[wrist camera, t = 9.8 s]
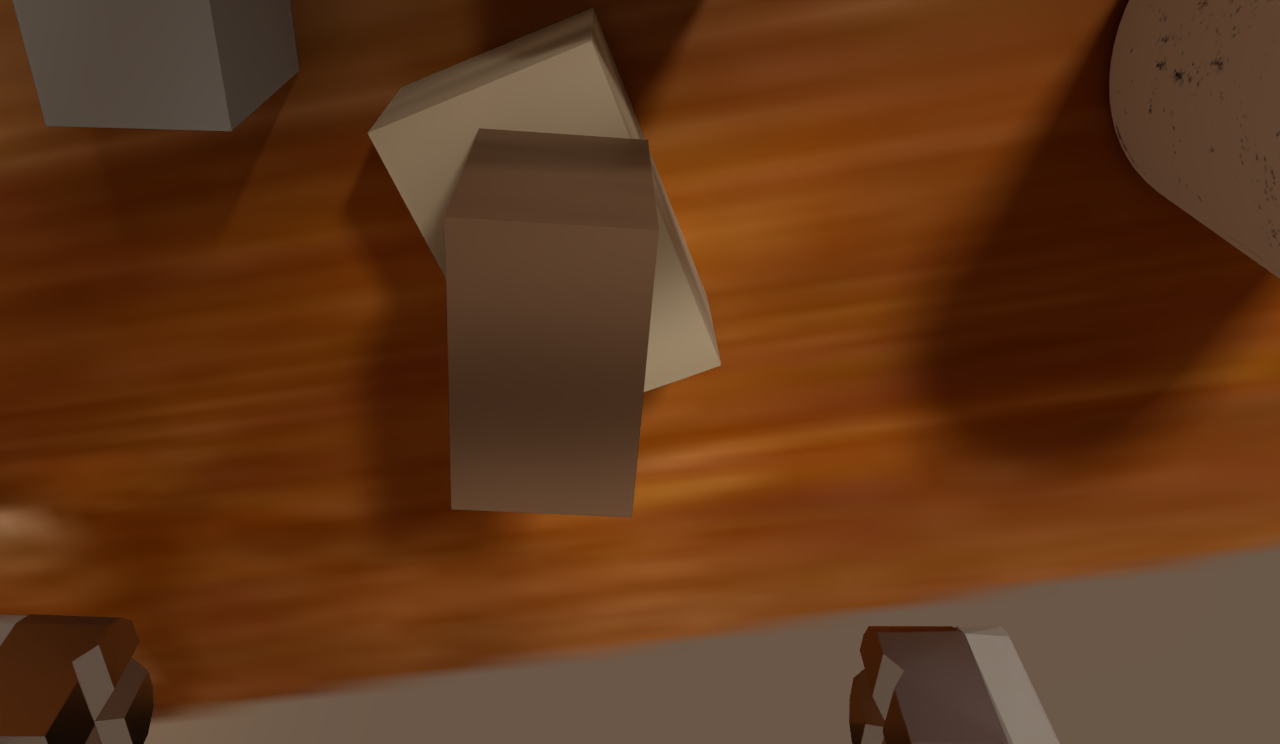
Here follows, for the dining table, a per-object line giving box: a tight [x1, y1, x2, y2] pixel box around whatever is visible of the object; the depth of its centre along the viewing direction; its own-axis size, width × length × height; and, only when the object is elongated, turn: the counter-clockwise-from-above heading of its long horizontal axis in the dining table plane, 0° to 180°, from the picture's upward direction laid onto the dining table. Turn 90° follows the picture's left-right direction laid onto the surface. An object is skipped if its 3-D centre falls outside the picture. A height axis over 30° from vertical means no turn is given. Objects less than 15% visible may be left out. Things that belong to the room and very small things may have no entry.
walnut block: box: [445, 128, 659, 517], centre depth 20 cm, size 6×4×5 cm, turn 176°
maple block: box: [368, 8, 721, 392], centre depth 24 cm, size 8×5×4 cm, turn 21°
